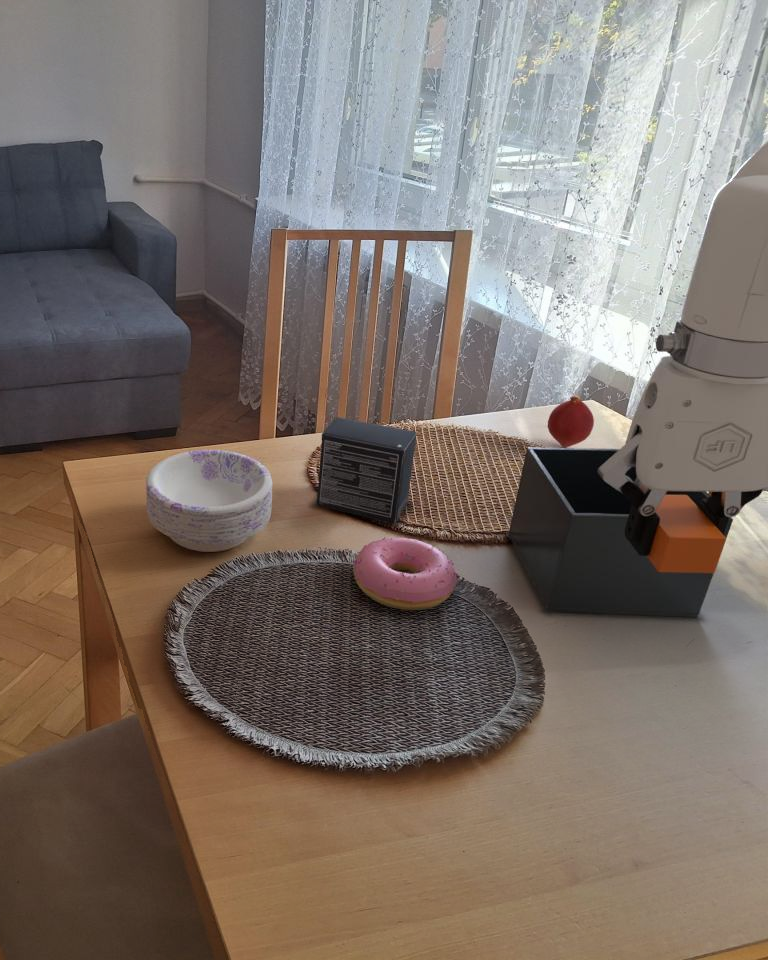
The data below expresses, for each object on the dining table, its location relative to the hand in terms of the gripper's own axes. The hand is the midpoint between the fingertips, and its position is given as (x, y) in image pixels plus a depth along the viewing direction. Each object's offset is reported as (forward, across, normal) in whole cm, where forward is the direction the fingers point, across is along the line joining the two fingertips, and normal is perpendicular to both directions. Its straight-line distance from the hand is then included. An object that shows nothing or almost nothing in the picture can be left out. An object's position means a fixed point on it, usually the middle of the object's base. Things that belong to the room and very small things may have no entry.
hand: (669, 545), depth 74 cm
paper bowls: (+15, -40, +24) cm, 49 cm away
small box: (+15, -21, +32) cm, 41 cm away
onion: (+16, +10, +50) cm, 53 cm away
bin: (+16, +3, +18) cm, 24 cm away
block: (0, 0, 0) cm, 0 cm away
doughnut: (+15, -19, +14) cm, 28 cm away
